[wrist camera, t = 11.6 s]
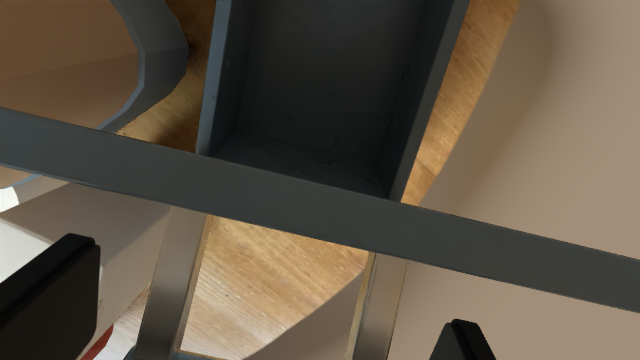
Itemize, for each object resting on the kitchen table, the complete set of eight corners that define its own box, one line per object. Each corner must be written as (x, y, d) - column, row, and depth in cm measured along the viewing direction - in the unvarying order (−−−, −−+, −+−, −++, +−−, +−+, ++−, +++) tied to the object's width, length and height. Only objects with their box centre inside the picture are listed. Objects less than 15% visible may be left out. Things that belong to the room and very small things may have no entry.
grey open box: (269, -120, 27) (242, -192, 19) (456, -67, 28) (510, -112, 20) (226, 134, 33) (192, 166, 25) (380, 171, 34) (396, 214, 26)
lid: (-197, 58, 5) (-322, 482, 5) (743, 284, 6) (672, 654, 6) (191, 162, 25) (170, 248, 24) (398, 211, 26) (379, 295, 25)
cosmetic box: (182, 248, 37) (71, 380, 22) (118, 219, 37) (-39, 335, 22) (212, 174, 34) (107, 271, 20) (143, 142, 34) (-18, 216, 19)
